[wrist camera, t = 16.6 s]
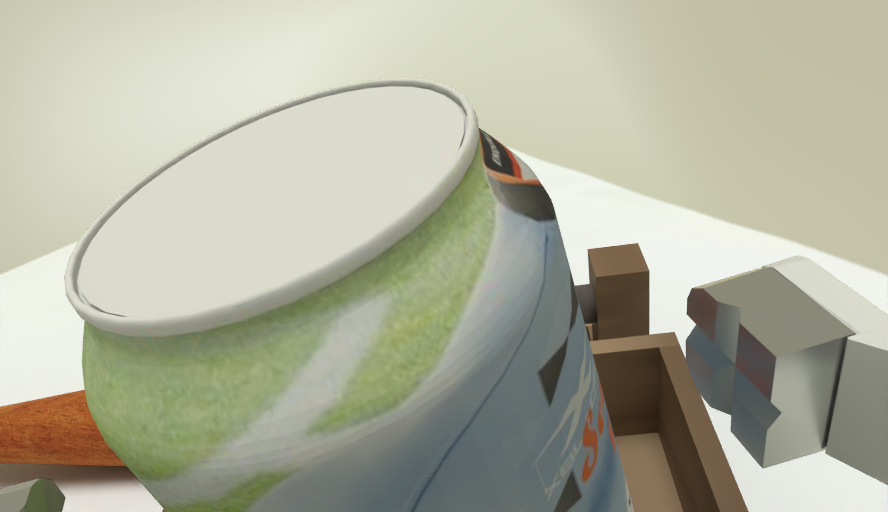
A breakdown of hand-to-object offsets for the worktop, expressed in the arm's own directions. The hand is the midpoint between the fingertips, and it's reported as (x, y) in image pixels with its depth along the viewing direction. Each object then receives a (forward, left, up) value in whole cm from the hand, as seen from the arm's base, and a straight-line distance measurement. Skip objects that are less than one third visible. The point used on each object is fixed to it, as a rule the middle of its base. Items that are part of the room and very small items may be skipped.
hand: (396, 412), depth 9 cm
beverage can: (0, +1, -9) cm, 9 cm away
